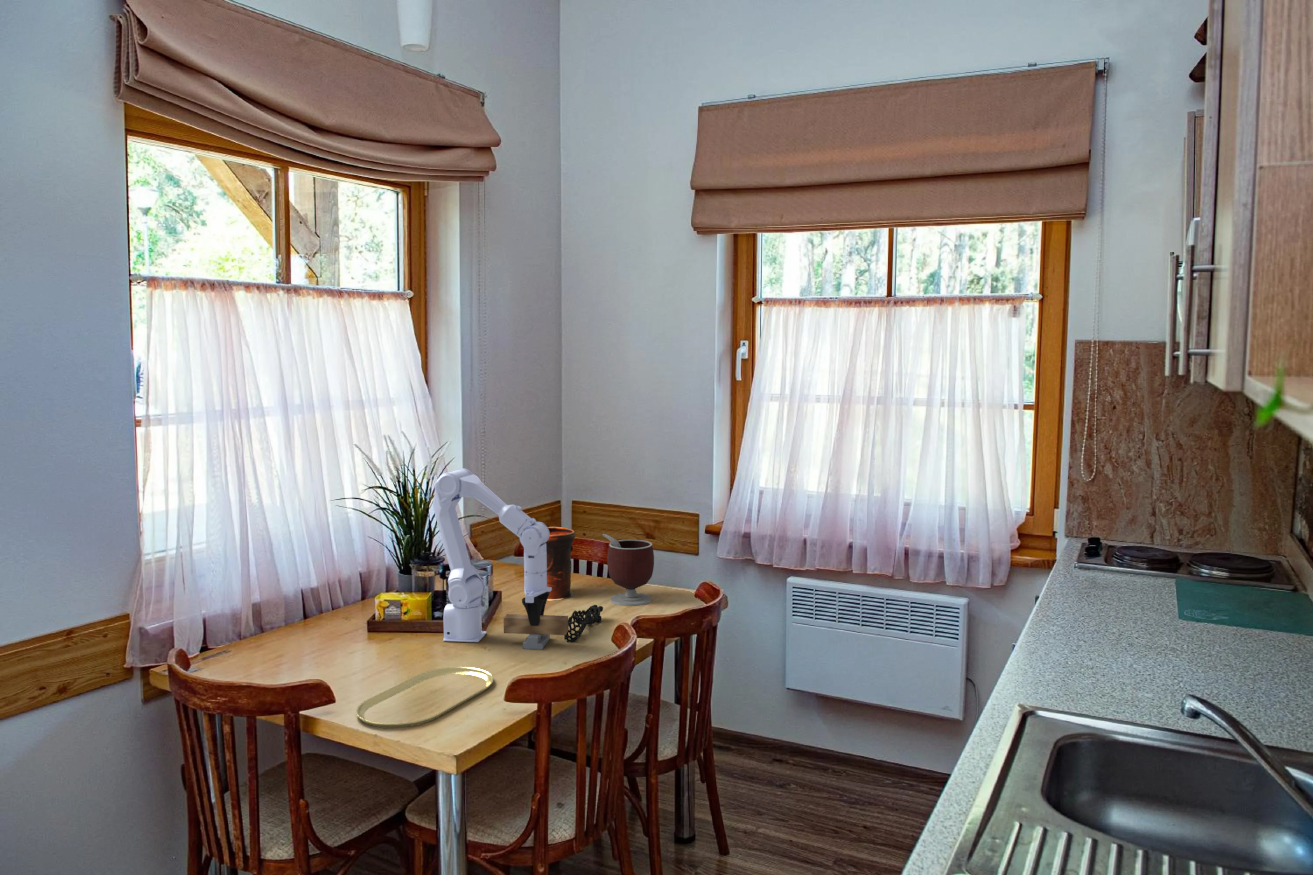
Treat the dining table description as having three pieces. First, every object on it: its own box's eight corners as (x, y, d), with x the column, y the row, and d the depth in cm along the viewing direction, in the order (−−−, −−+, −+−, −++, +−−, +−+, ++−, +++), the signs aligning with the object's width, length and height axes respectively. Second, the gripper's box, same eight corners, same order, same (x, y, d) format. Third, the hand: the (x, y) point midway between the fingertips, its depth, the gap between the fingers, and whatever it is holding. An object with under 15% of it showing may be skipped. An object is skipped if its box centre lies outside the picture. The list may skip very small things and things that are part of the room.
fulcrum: (522, 648, 241) (522, 637, 240) (531, 637, 250) (530, 626, 249) (542, 649, 240) (542, 637, 240) (549, 638, 249) (549, 627, 249)
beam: (503, 633, 244) (503, 617, 243) (507, 629, 247) (507, 614, 247) (565, 635, 242) (565, 619, 242) (568, 630, 245) (568, 615, 245)
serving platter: (336, 721, 196) (336, 714, 196) (443, 668, 228) (443, 662, 227) (409, 737, 188) (408, 730, 188) (509, 680, 220) (509, 673, 219)
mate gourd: (657, 594, 291) (657, 530, 289) (650, 607, 278) (650, 539, 276) (607, 593, 293) (607, 529, 291) (598, 605, 280) (597, 538, 278)
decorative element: (579, 644, 245) (579, 622, 244) (560, 642, 246) (560, 620, 246) (605, 619, 267) (605, 599, 266) (588, 618, 268) (588, 597, 267)
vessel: (523, 590, 297) (524, 526, 295) (568, 587, 301) (569, 525, 299) (531, 602, 283) (532, 536, 281) (578, 599, 287) (579, 534, 285)
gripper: (544, 578, 235) (545, 631, 237) (556, 564, 250) (557, 615, 251) (516, 577, 236) (517, 631, 237) (530, 563, 250) (531, 614, 252)
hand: (536, 622), depth 244 cm, fingers closed on beam, 3 cm apart
